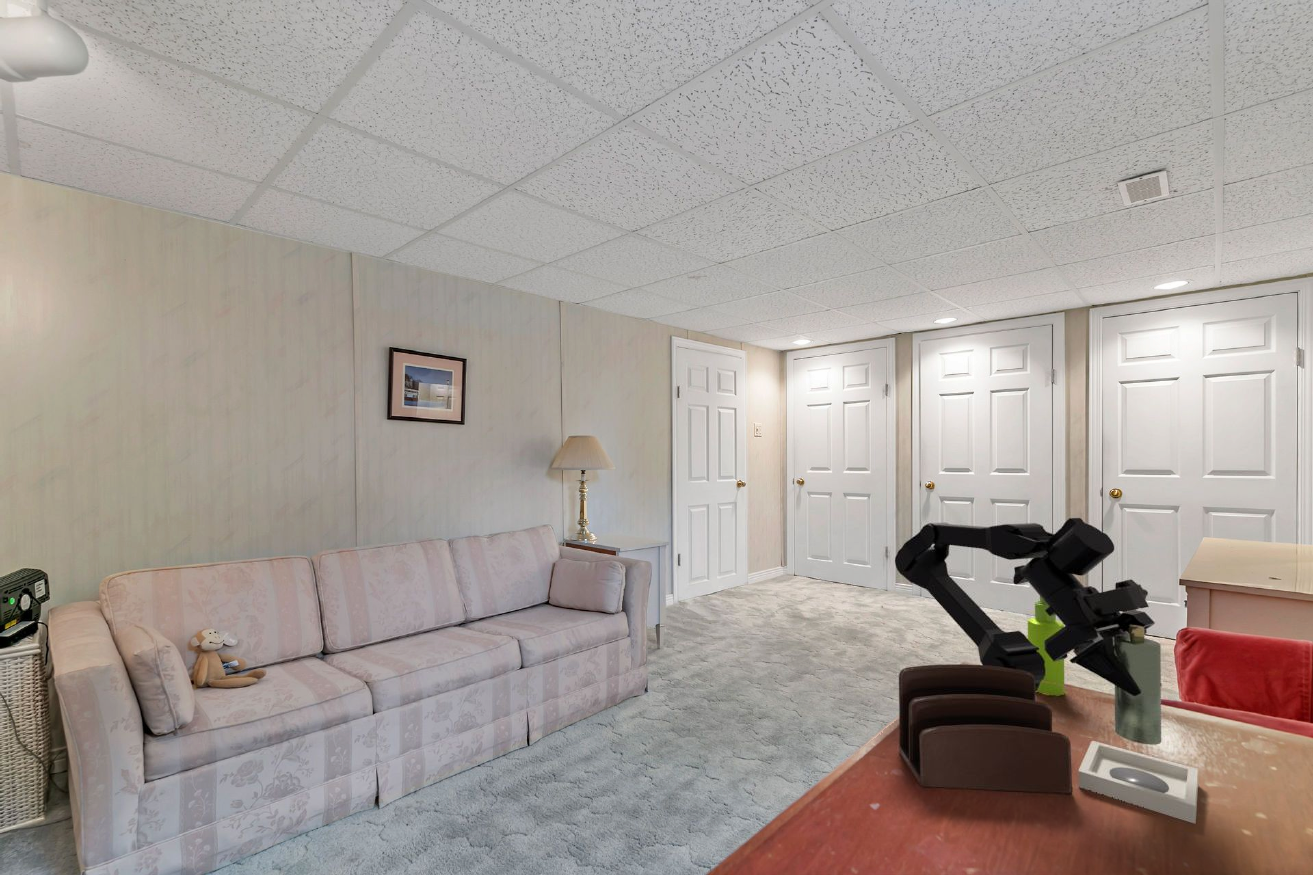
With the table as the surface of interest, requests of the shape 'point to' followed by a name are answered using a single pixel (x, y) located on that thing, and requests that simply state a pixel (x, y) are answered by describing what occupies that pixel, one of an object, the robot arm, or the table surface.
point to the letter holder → (980, 730)
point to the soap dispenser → (1037, 634)
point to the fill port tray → (1140, 780)
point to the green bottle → (1143, 711)
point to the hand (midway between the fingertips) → (1148, 691)
